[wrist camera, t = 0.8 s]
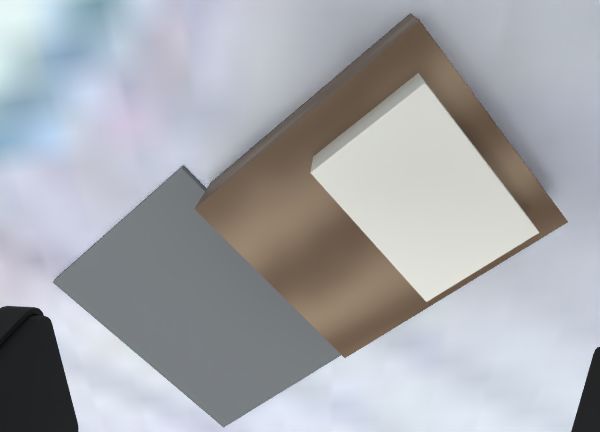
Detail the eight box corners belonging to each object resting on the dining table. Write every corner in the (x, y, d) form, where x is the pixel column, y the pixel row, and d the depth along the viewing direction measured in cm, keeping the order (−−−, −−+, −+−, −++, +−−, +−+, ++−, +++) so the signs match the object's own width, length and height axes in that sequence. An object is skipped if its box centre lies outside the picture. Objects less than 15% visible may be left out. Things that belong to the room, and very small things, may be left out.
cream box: (524, 212, 29) (539, 232, 27) (420, 278, 32) (426, 302, 30) (418, 72, 27) (424, 82, 24) (313, 156, 29) (310, 172, 27)
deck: (543, 193, 33) (568, 222, 30) (345, 321, 39) (344, 358, 35) (410, 13, 29) (419, 20, 26) (210, 183, 35) (194, 208, 31)
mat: (356, 341, 39) (356, 345, 39) (224, 423, 44) (223, 427, 44) (183, 165, 34) (181, 167, 34) (55, 279, 39) (52, 282, 39)
